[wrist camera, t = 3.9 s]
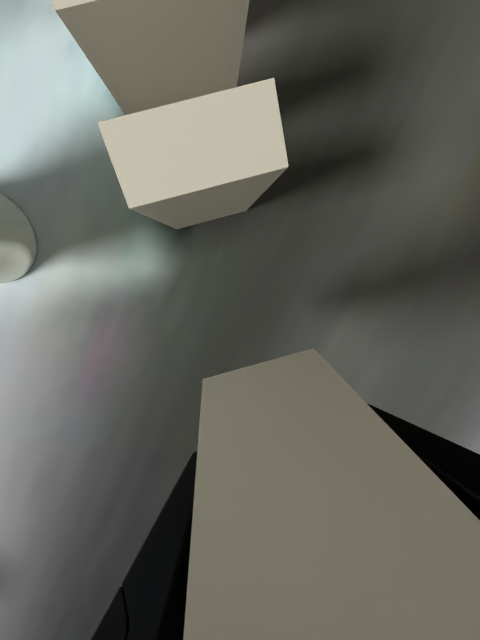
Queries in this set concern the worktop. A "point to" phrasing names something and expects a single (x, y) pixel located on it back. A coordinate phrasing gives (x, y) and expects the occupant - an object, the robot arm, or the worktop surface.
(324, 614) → the domino
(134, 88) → the domino
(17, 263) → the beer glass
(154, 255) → the worktop surface
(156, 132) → the domino
